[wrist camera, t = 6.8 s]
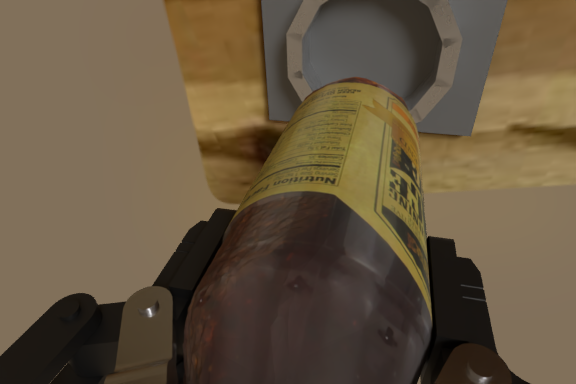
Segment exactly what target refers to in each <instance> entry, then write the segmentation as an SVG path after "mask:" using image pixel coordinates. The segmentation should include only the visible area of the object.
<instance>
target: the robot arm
mask: <svg viewBox="0 0 576 384" xmlns="http://www.w3.org/2000/svg"><path fill="white" fill-rule="evenodd" d="M236 211H237V210H229V209H221V208H217V209H216V210H215V211H214V213H213V214H212V216H211V218H210V219H209V221H200V222H199V223H197V224H196V225H195V226H193V227H192V228H191V229H190V230H189V231H188V232H187V234H186V235H185V237H184V238H183V240H182V243H180V244H179V246H178V247H177V249H176V252H174V254H173V255H172V256H171V258H170V260H169V261H168V263H167V264H166V266H165V267H164V269H163V270H162V272H161V273H160V275H159V276H158V278H157V279H156V281H155V282H154V284H153V285H152V286H151V287H146V288H143V289H141V290H139V291H137V292H136V293H134V294H133V295H132V296H131V297H130V298H129V299H128V300H127V301H126V302H119V303H110V304H101V305H98V304H97V303H96V300H95V299H94V297H92V296H91V295H89V294H85V293H77V294H72V295H69V296H67V297H64V298H62V299H61V300H59V301H58V302H56V303H55V304H54V305H53V306H52V307H50V308H49V309H48V310H47V311H46V312H45V313H44V314H43V315H42V316H41V317H40V318H39V319H38V320H37V321H36V322H35V323H34V324H33V325H32V326H31V327H30V328H29V329H28V330H27V331H26V332H25V333H24V334H23V335H22V336H21V337H20V338H19V339H18V340H16V341H15V343H13V344H12V345H11V346H10V347H9V348H8V349H7V350H6V351H5V352H4V353H3V354H2V355H1V356H0V384H49V383H50V382H51V381H52V380H53V381H52V382H51V383H50V384H183V377H184V373H185V369H184V352H183V343H184V327H185V321H186V318H187V314H188V307H189V305H190V304H191V301H192V298H193V295H194V293H195V290H196V288H197V286H198V285H199V283H200V281H201V279H202V278H203V276H204V274H205V273H206V271H207V269H208V267H209V266H210V264H211V262H212V260H213V259H214V258H215V255H216V253H217V251H218V250H219V249H220V247H221V245H222V240H223V237H224V233H225V231H226V229H227V227H228V225H229V223H230V222H231V220H232V218H233V216H234V215H235V213H236ZM427 255H428V269H429V282H430V296H431V308H432V323H433V337H432V343H431V347H430V351H429V355H428V357H427V359H426V362H425V364H424V367H423V369H422V372H421V374H420V376H421V384H530V383H528V382H526V381H524V380H522V379H521V378H519V377H518V376H516V375H515V374H514V373H513V372H511V371H510V370H509V368H508V366H507V365H506V363H505V362H504V361H503V360H502V358H501V357H500V356H499V355H498V353H497V350H496V347H495V342H494V337H493V332H492V327H491V322H490V317H489V313H488V307H487V303H486V298H485V293H484V290H483V283H482V278H481V273H480V271H479V270H478V269H477V267H476V266H475V264H474V263H473V262H472V260H471V259H469V258H462V257H457V256H456V249H455V242H454V240H453V239H446V238H439V237H431V236H428V238H427ZM66 364H67V365H66ZM65 365H66V366H65ZM64 366H65V367H64ZM63 367H64V368H63ZM62 368H63V369H62ZM61 369H62V370H61ZM60 370H61V371H60ZM59 372H60V373H59ZM58 373H59V374H58ZM57 374H58V375H57ZM56 375H57V376H56ZM55 376H56V377H55Z"/></svg>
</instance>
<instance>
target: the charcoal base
mask: <svg viewBox="0 0 576 384" xmlns="http://www.w3.org/2000/svg"><path fill="white" fill-rule="evenodd" d="M448 1H449V4H450V7H451V9H452V12H453V15H454V18H455V20H456V23H457V26H458V28H459V31H460V33H461V36H462V39H463V40H462V44H461V48H460V53H459V57H458V62H457V66H456V71H455V75H454V80H453V84H452V87H451V88H450V89H449V91H448V92H447V93H446V94H445V95H444V96H443V97H442V99H441V100H440V101H439V102H438V103H437V104H436V105H435V106H434V108H433V109H432V110H431V111H430V112H429V113H428V114H427V115H426V117H425V118H424V119H423V120H422V121H420V122H418V123H415V124H416V126H417V131H418V132H426V133H438V134H450V135H462V136H471V133H472V129H473V126H474V122H475V118H476V114H477V111H478V107H479V103H480V100H481V96H482V92H483V89H484V85H485V81H486V78H487V74H488V70H489V66H490V63H491V59H492V55H493V52H494V48H495V44H496V41H497V37H498V33H499V30H500V26H501V22H502V18H503V15H504V11H505V7H506V4H507V0H448ZM302 2H303V0H261V5H262V19H263V34H264V48H265V63H266V77H267V92H268V106H269V120H278V121H290V120H291V118H292V116H293V115H294V113H295V111H296V110H297V108H298V107H299V106H300V105H301V104H302V101H301V99H300V97H299V96H298V94H297V92H296V90H295V89H294V87H293V85H292V84H291V82H290V80H289V79H288V67H287V39H286V33H287V32H288V30H289V28H290V26H291V24H292V22H293V20H294V18H295V16H296V14H297V12H298V10H299V8H300V6H301V4H302ZM439 38H440V35H439V32H438V30H437V27H436V25H435V22H434V20H433V17H432V14H431V12H430V9H429V7H428V6H427V5H425V4H424V3H422V2H421V1H419V0H328V1H326V2H325V3H324V5H323V6H322V8H321V10H320V12H319V14H318V16H317V17H316V19H315V21H314V23H313V25H312V27H311V29H310V63H311V65H312V66H313V68H314V70H315V72H316V74H317V76H318V77H319V79H320V81H321V83H322V85H323V86H325V85H326V84H328V83H330V82H333V81H337V80H339V79H345V78H351V77H361V78H366V79H369V80H371V81H374V82H376V83H378V84H381V85H383V86H385V87H386V88H388V89H390V90H391V91H392V92H394V93H395V94H397V95H398V96H399V97H402V99H404V98H406V97H408V96H410V95H412V94H413V93H414V92H415V90H416V89H417V88H418V87H419V86H420V84H421V83H422V82H423V81H424V79H425V78H426V77H427V76H428V75H429V73H430V72H431V71H432V70H433V68H434V64H435V59H436V54H437V48H438V43H439Z"/></svg>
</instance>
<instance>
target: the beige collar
mask: <svg viewBox="0 0 576 384" xmlns="http://www.w3.org/2000/svg"><path fill="white" fill-rule="evenodd" d="M326 1H328V0H303V2H302V4H301V6H300V8H299V10H298V12H297V14H296V16H295V18H294V20H293V22H292V24H291V26H290V28H289V30H288V32H287V33H286V39H287V67H288V79H289V80H290V82H291V84H292V85H293V87H294V89H295V90H296V92H297V94H298V96H299V97H300V99H301V101H302V102H303V101H304V99H305V98H306V97H307V96H308V95H309V94H311V93H312V92H313V91H314V90H317V89H319V88H321V87H323V85H322V83H321V81H320V79H319V77H318V76H317V74H316V72H315V70H314V68H313V66H312V65H311V63H310V29H311V27H312V25H313V23H314V21H315V19H316V17H317V16H318V14H319V12H320V10H321V8H322V6H323V5H324V3H325V2H326ZM419 1H421V2H422V3H424V4H425V5H427V6H428V7H429V9H430V12H431V14H432V17H433V20H434V22H435V25H436V27H437V30H438V32H439V35H440V38H439V43H438V48H437V54H436V59H435V64H434V68H433V70H432V71H431V72H430V73H429V75H428V76H427V77H426V78H425V79H424V81H423V82H422V83H421V84H420V86H419V87H418V88H417V89H416V90H415V92H414V93H413V94H412V95H410V96H408V97H406V98H404V99H403V100H404V102H405V103H406V105H407V107H408V110H409V113H410V114H411V116H412V117H413V119H414V121H415V123H418V122H420V121H422V120H423V119H424V118H425V117H426V115H427V114H428V113H429V112H430V111H431V110H432V109H433V108H434V106H435V105H436V104H437V103H438V102H439V101H440V100H441V99H442V97H443V96H444V95H445V94H446V93H447V92H448V91H449V89H450V88H451V87H452V84H453V80H454V75H455V71H456V66H457V62H458V57H459V53H460V48H461V44H462V40H463V39H462V36H461V33H460V31H459V28H458V26H457V23H456V20H455V18H454V15H453V12H452V9H451V7H450V4H449V1H448V0H419Z"/></svg>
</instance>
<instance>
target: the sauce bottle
mask: <svg viewBox="0 0 576 384" xmlns="http://www.w3.org/2000/svg"><path fill="white" fill-rule="evenodd" d="M426 235H427V233H426V223H425V213H424V197H423V186H422V173H421V160H420V145H419V135H418V131H417V126H416V124H415V121H414V119H413V117H412V116H411V114H410V113H409V110H408V107H407V105H406V103H405V102H404V100H403V99H402V97H399V96H398V95H397V94H395V93H394V92H392V91H391V90H390V89H388V88H386V87H385V86H383V85H381V84H378V83H376V82H374V81H371V80H369V79H366V78H361V77H351V78H345V79H339V80H337V81H333V82H330V83H328V84H326V85H325V86H323V87H321V88H319V89H317V90H314V91H313V92H312V93H311V94H309V95H308V96H307V97H306V98H305V99H304V101H303V102H302V104H301V105H300V106H299V107H298V108H297V110H296V111H295V113H294V115H293V116H292V118H291V120H290V121H289V123H288V125H287V127H286V128H285V130H284V132H283V133H282V135H281V137H280V138H279V140H278V142H277V143H276V145H275V147H274V149H273V150H272V152H271V154H270V155H269V157H268V159H267V160H266V162H265V164H264V165H263V167H262V169H261V171H260V172H259V174H258V176H257V177H256V179H255V181H254V182H253V184H252V186H251V188H250V189H249V191H248V193H247V194H246V196H245V198H244V199H243V201H242V203H241V205H240V206H239V208H238V210H237V211H236V213H235V215H234V216H233V218H232V220H231V222H230V223H229V225H228V227H227V229H226V231H225V233H224V237H223V240H222V245H221V247H220V249H219V250H218V251H217V253H216V255H215V258H214V259H213V260H212V262H211V264H210V266H209V267H208V269H207V271H206V273H205V274H204V276H203V278H202V279H201V281H200V283H199V285H198V286H197V288H196V290H195V293H194V295H193V298H192V301H191V304H190V305H189V307H188V314H187V318H186V321H185V327H184V343H183V352H184V369H185V373H184V377H183V384H417V382H418V379H419V377H420V374H421V372H422V369H423V367H424V364H425V362H426V359H427V357H428V355H429V351H430V347H431V343H432V337H433V323H432V308H431V296H430V282H429V269H428V255H427V236H426Z"/></svg>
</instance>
